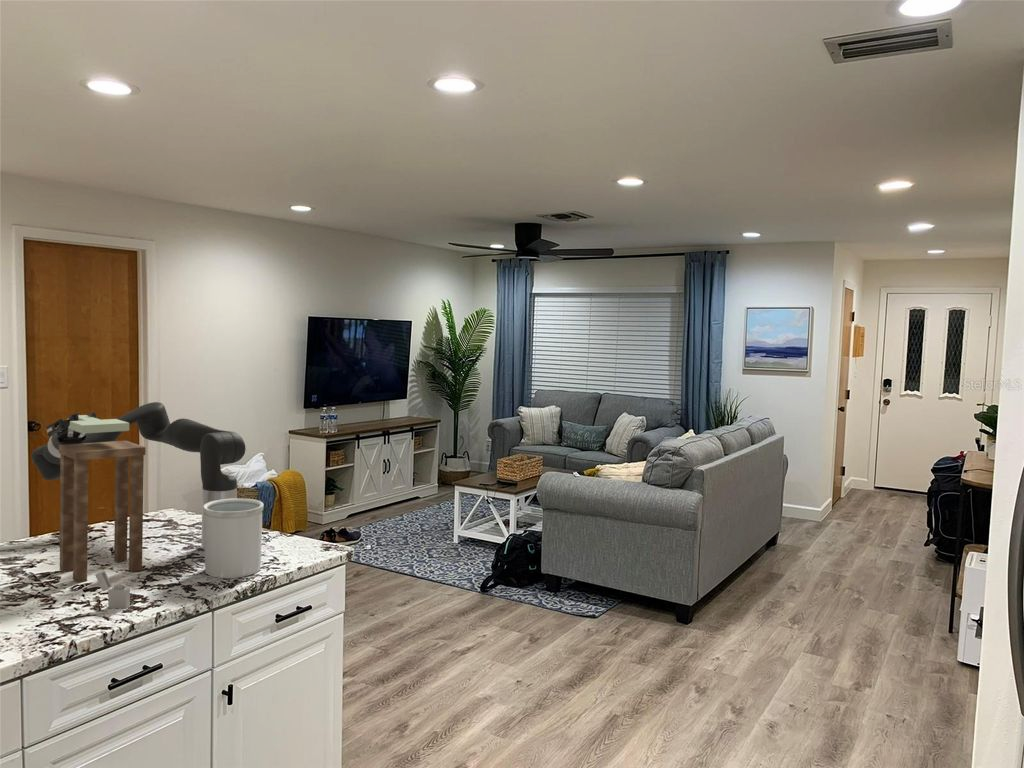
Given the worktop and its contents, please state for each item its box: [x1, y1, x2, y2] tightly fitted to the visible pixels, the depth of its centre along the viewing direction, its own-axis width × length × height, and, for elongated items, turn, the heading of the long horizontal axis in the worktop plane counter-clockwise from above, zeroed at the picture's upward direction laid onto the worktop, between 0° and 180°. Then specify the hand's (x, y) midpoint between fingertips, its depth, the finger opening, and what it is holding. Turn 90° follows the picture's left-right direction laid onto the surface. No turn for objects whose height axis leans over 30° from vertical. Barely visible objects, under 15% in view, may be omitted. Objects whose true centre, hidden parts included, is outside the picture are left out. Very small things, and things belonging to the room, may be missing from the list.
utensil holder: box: [203, 498, 265, 579], centre depth 199 cm, size 15×15×18 cm
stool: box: [59, 440, 147, 583], centre depth 194 cm, size 16×13×32 cm
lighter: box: [95, 570, 131, 610], centre depth 171 cm, size 7×2×8 cm, turn 89°
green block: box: [70, 414, 130, 434], centre depth 198 cm, size 11×20×2 cm, turn 47°
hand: (85, 415), depth 201 cm, fingers closed on green block, 3 cm apart
